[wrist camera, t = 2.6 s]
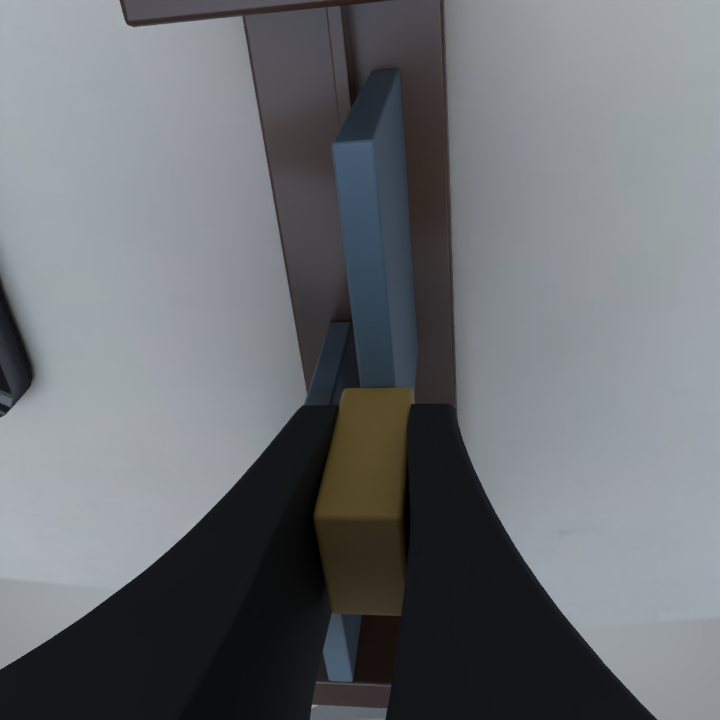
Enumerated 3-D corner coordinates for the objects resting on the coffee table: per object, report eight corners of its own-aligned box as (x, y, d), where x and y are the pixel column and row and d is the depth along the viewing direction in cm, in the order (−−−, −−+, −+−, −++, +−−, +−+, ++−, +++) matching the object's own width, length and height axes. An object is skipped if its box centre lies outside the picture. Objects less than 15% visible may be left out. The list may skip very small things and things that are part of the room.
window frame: (240, -69, 14) (100, -63, 8) (440, -94, 13) (433, -103, 8) (335, 513, 22) (297, 705, 17) (460, 514, 22) (463, 714, 16)
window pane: (356, 71, 14) (254, 225, 7) (415, 66, 14) (374, 218, 7) (382, 350, 17) (334, 642, 10) (430, 348, 17) (414, 644, 10)
